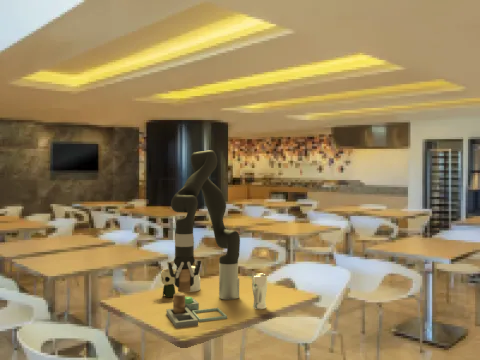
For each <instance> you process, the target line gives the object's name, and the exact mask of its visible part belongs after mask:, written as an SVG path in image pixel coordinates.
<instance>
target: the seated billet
mask: <svg viewBox="0 0 480 360" xmlns="http://www.w3.org/2000/svg"><path fill="white" fill-rule="evenodd" d="M185 297H186V294H185V293H184V292H179V293H176V292H175V294H174V295H173V296H172V300H173V301H172V302H173V303H172V306H173V307H172V309H173V314H180V313H185Z"/></svg>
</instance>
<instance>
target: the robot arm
mask: <svg viewBox="0 0 480 360" xmlns="http://www.w3.org/2000/svg"><path fill="white" fill-rule="evenodd" d="M190 163H191V167H192V170H193V172H194V173H192V174H191V175H190V176H189V177H188V178H187V179H186V181H185V183H184V184H183V187H182V188H181V189H179V190H178V192H175V194H174V195H173V197H172V199H171V203H170V207H171V209H172V211H174V212H175V213H185V214H186V216H185V217H180V218H177V219H176V220H175V237H174V259H173V260H170V261H167V262H166V265H167V269H169V273H170V276H171V277H174V278H175V283H174V287H176V288H178V287H179V278H178V277H179V274H180V272H181V270H182V269H190V286H192V285H193V284H194V276H196V275H198V274H199V275H200V269H201V264H202V261H201V260H200V259H195V257H194V254H195V253H194V249H195V244H194V243H195V240H194V239H195V237H194V223H195V216H196V212H197V208H198V206H199V204H198V203H199V201H198V198H197V197H198V196H199V194H200V192H202V195H203V200H204V203H205V205H206V209H207V212H208V215H209V218H210V221H211V225H212V230H213V234H214V235H213V236H214V239H215V243H216V245H217V247H219V249H220V248H221V249H227V251H226V254H224V255H220V256H219V259H218V266H219V267H218V268H219V269H218V270H219V271H218V279H219V280H218V281H219V282H218V297H219V299H221V300H226V301H227V300H228V301H229V300H230V301H232V300H233V301H234V300H237V299H239V298H240V278H239V257H240V248H241V247H240V246H241V237H240V233H239V231H238V230H231V229H226V227H225V224H224V217H225V213H226V211H227V210H226V209H227V203H226V202H227V201H226V199H225V196H224V193H223V192H222V190H221V189H220V188H219V186H217V185H216V184H215V183H213V181H212V180H211V179H210V176H211V175H212V173H213V172H214V171H215V169H216V168H217V165H218V157H217V154H216V153H215V151H214V150H212V149H211V150H209V149H208V150H204V151H196V152H193V153H192V154H191V157H190ZM174 266H176V268H175V270H176V272H175V274H174V273H173V269H174V268H173V267H174ZM191 266H195V271H194V272H193V270H192V267H191Z"/></svg>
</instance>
